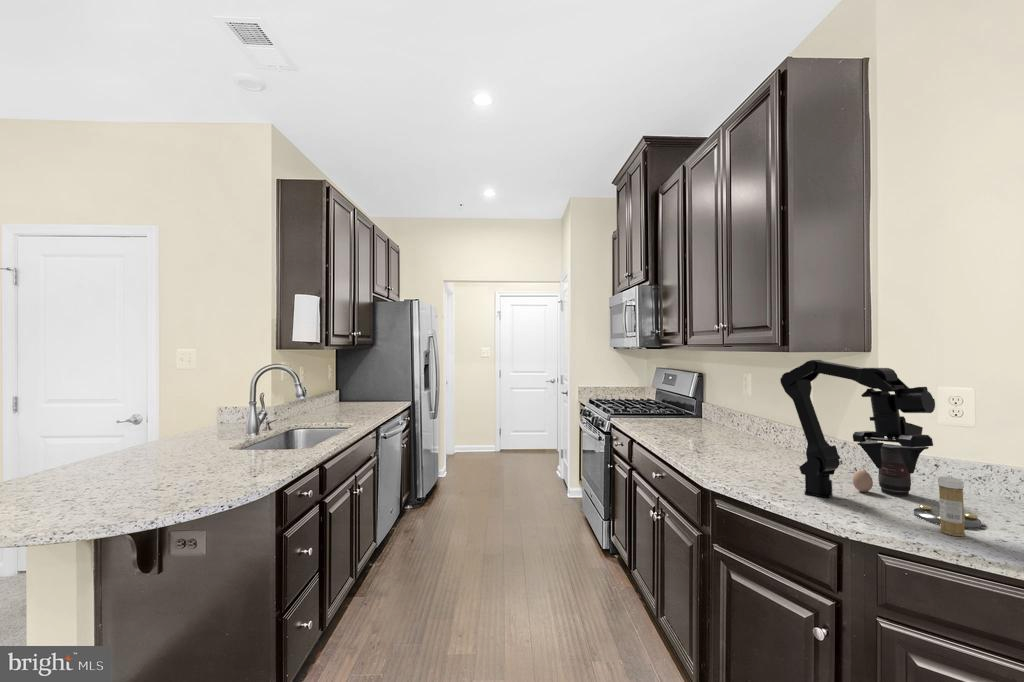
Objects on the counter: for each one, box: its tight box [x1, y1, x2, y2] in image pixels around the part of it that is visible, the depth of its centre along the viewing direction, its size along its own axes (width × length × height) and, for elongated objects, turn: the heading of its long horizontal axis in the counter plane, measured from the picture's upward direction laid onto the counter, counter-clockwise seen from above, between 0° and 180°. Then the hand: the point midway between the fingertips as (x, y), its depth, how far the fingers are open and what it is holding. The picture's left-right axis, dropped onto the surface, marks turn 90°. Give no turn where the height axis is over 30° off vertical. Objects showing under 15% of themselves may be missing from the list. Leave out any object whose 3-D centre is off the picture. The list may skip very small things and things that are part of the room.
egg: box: [852, 469, 874, 493], centre depth 145 cm, size 5×5×7 cm
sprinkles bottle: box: [937, 476, 966, 537], centre depth 112 cm, size 5×5×13 cm
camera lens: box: [877, 443, 912, 497], centre depth 144 cm, size 8×8×15 cm
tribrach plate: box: [913, 504, 983, 529], centre depth 121 cm, size 13×13×2 cm
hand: (894, 470), depth 123 cm, fingers open, 9 cm apart
